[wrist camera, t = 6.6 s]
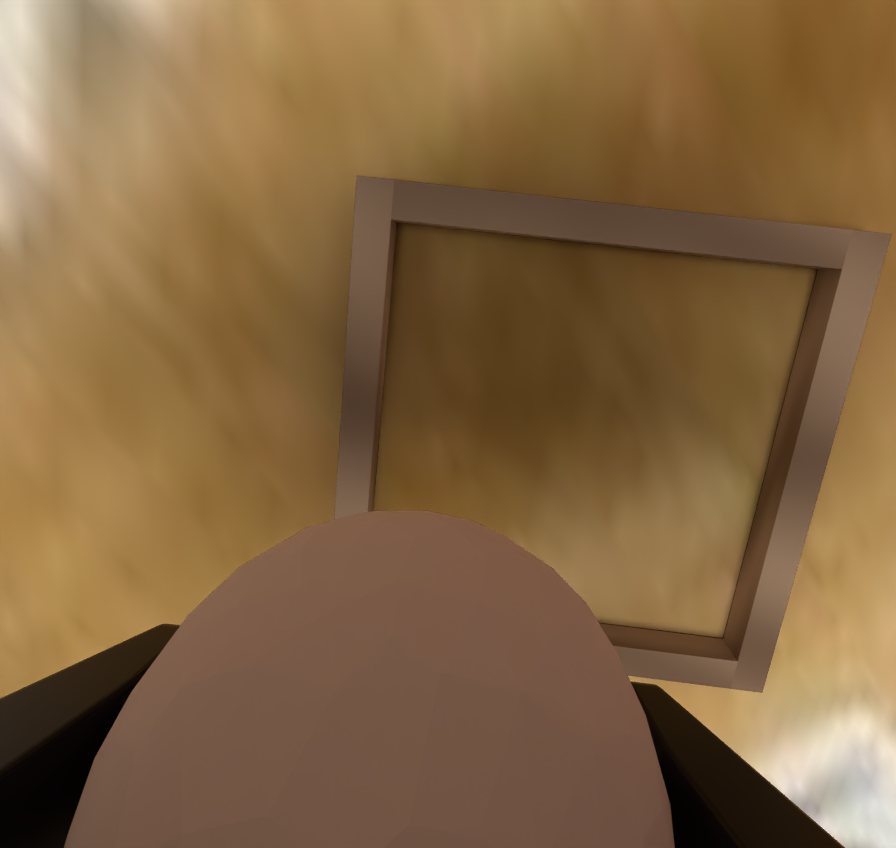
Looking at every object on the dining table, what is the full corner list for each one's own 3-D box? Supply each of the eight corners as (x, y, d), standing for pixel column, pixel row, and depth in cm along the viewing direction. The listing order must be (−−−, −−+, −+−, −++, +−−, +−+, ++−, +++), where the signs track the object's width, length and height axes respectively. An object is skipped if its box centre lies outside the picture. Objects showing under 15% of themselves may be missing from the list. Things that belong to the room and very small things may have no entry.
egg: (387, 798, 10) (200, 1931, 3) (181, 566, 10) (-690, 1451, 2) (658, 645, 10) (1203, 1770, 2) (459, 369, 9) (380, 871, 1)
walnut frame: (746, 668, 21) (762, 692, 19) (335, 616, 21) (326, 637, 20) (863, 236, 17) (891, 233, 16) (365, 181, 17) (356, 175, 16)
